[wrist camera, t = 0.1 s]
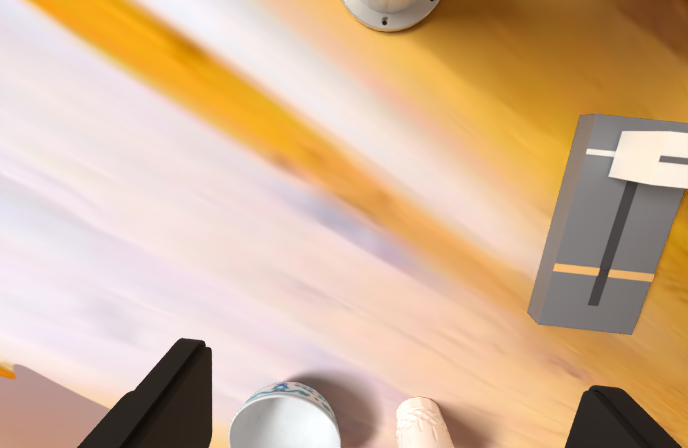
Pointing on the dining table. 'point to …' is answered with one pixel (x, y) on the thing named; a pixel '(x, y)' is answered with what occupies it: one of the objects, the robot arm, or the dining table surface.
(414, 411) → the white cup
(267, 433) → the chinaware
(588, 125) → the board
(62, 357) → the dining table surface
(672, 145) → the fader tab
